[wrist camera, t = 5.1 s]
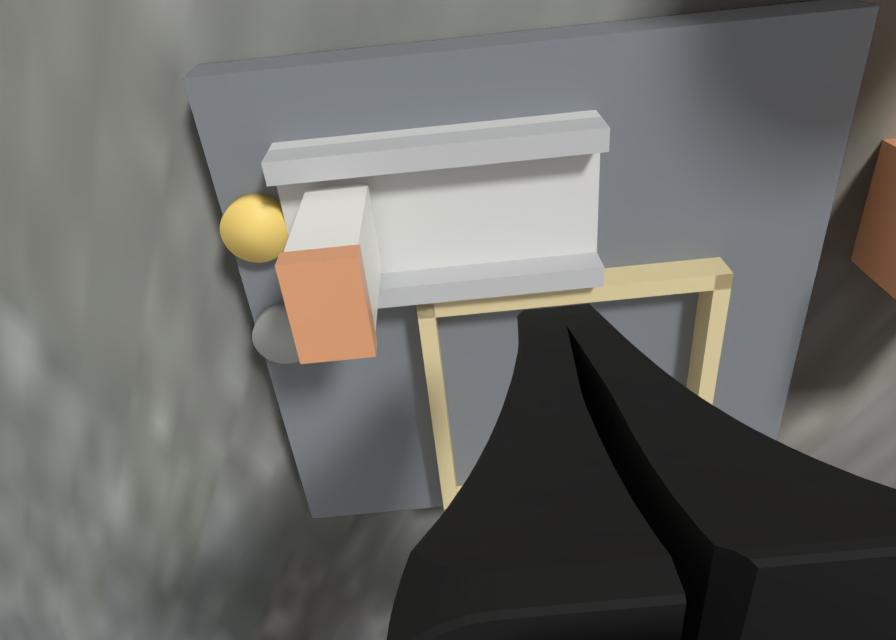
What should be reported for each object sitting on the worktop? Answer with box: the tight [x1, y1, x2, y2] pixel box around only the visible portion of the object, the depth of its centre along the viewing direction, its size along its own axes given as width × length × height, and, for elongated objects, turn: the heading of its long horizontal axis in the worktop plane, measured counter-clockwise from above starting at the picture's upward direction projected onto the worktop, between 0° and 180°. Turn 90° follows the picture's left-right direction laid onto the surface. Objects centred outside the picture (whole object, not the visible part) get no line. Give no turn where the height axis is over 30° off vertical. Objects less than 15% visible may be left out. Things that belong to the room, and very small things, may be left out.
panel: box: [182, 0, 880, 519], centre depth 21 cm, size 16×17×3 cm
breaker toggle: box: [275, 183, 381, 364], centre depth 16 cm, size 2×2×4 cm
